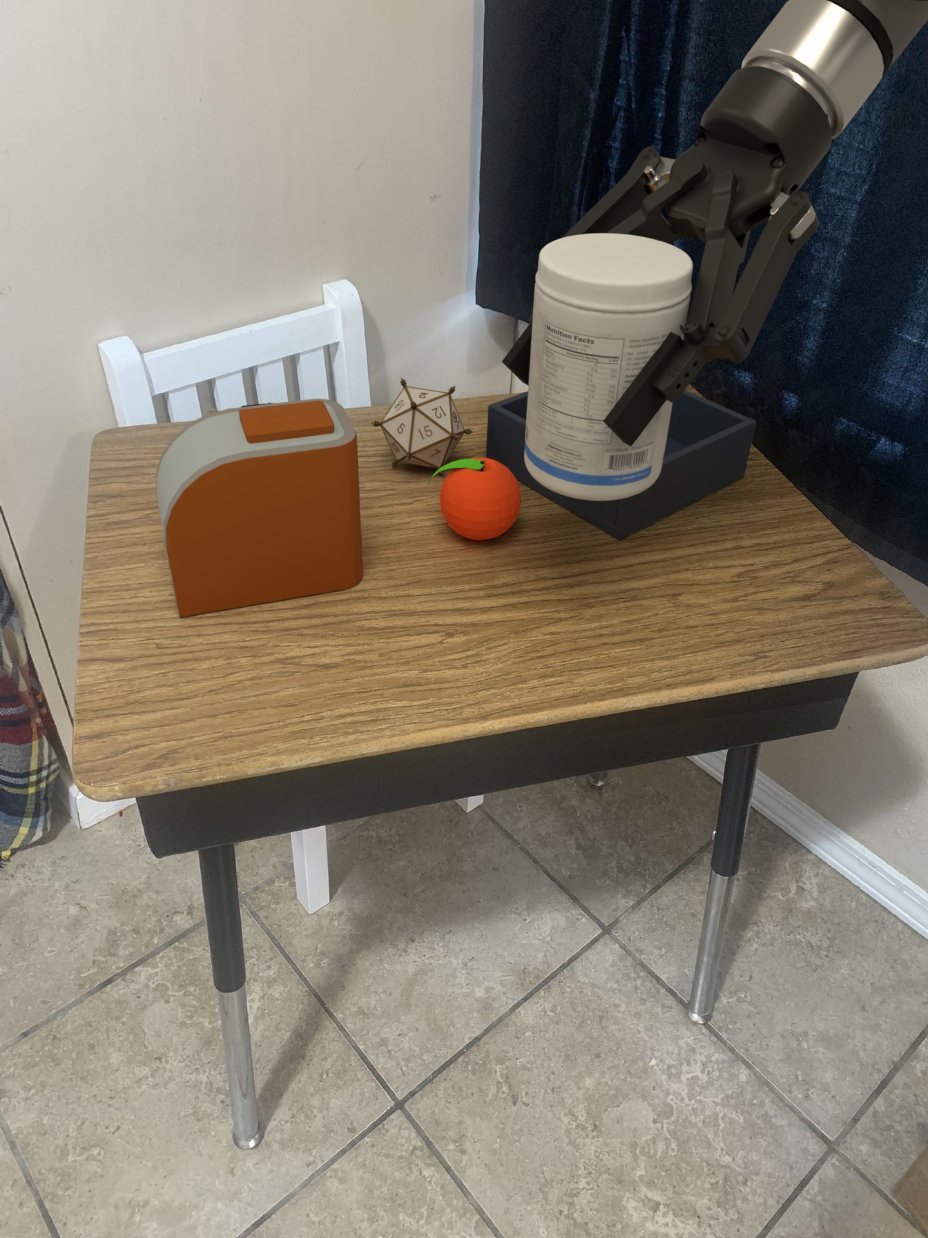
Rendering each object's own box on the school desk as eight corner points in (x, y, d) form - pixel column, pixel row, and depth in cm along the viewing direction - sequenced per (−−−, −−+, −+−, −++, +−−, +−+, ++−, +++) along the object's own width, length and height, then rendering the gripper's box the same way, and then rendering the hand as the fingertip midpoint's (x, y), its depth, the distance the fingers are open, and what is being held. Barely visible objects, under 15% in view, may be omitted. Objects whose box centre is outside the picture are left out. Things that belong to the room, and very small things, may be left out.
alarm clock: (344, 530, 85) (336, 384, 76) (368, 586, 78) (362, 433, 70) (168, 557, 81) (139, 406, 72) (179, 618, 74) (148, 460, 66)
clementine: (421, 551, 83) (421, 477, 78) (432, 508, 88) (433, 437, 84) (516, 559, 82) (521, 485, 78) (521, 515, 87) (526, 444, 83)
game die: (404, 494, 97) (362, 399, 95) (483, 459, 97) (442, 363, 95) (401, 496, 88) (355, 392, 87) (488, 458, 88) (443, 353, 86)
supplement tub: (554, 427, 73) (572, 222, 64) (678, 457, 69) (715, 245, 60) (499, 485, 66) (510, 263, 57) (633, 521, 63) (668, 292, 54)
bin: (744, 477, 94) (757, 420, 90) (620, 540, 85) (629, 480, 81) (609, 412, 104) (615, 358, 100) (485, 461, 95) (487, 405, 91)
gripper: (957, 187, 56) (712, 503, 58) (681, 115, 70) (493, 371, 73) (930, 91, 50) (660, 445, 53) (636, 34, 64) (434, 314, 67)
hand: (563, 402), depth 63 cm, fingers closed on supplement tub, 9 cm apart
